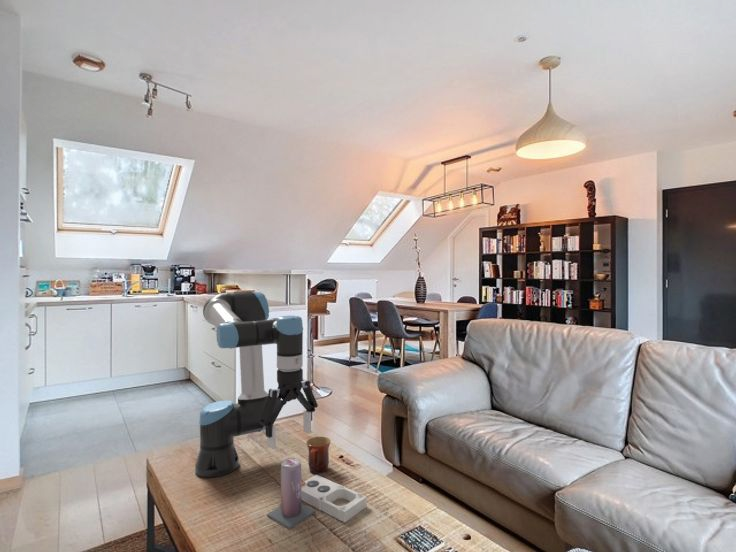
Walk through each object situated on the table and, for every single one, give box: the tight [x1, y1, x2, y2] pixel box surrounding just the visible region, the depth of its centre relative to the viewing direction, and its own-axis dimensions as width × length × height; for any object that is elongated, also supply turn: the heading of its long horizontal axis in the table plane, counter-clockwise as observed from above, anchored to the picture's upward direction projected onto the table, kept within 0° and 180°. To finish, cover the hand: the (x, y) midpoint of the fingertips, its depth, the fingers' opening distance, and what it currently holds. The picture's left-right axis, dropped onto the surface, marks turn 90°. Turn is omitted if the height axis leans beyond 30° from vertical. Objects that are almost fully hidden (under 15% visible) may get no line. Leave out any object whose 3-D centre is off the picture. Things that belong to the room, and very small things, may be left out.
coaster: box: [266, 502, 316, 530], centre depth 121 cm, size 10×10×1 cm
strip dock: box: [301, 474, 368, 523], centre depth 130 cm, size 30×11×4 cm, turn 51°
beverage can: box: [280, 457, 302, 517], centre depth 121 cm, size 6×6×15 cm
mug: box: [305, 435, 331, 474], centre depth 147 cm, size 12×9×10 cm
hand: (290, 439), depth 121 cm, fingers open, 13 cm apart
